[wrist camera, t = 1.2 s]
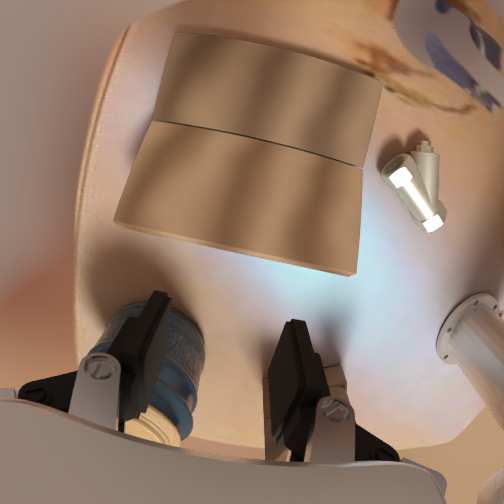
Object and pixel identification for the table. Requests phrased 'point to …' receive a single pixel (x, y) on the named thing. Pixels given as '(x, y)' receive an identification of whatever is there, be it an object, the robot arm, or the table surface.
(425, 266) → the table surface
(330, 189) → the plank
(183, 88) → the floor board
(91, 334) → the table surface
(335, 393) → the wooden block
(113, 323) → the canister
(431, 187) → the pipe fitting
